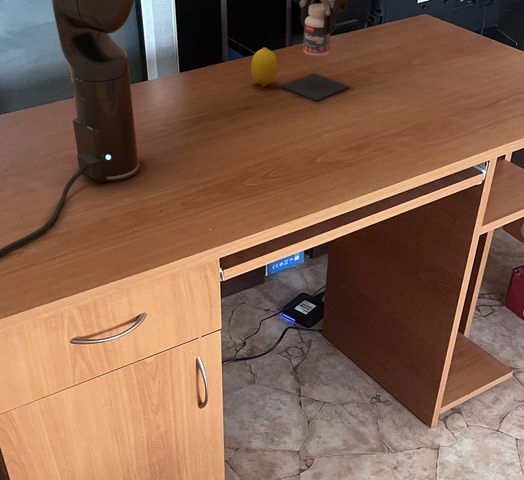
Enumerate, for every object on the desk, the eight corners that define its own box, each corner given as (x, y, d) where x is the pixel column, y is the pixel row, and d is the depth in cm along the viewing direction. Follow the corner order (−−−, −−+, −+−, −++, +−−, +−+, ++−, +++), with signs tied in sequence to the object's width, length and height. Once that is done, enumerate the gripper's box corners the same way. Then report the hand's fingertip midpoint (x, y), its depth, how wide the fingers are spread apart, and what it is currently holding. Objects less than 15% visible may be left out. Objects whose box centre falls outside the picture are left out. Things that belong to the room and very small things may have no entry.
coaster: (316, 101, 159) (316, 99, 159) (281, 87, 164) (281, 85, 164) (348, 88, 164) (348, 86, 164) (313, 75, 170) (313, 73, 170)
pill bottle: (299, 54, 158) (301, 8, 153) (307, 46, 162) (309, 1, 156) (325, 58, 157) (327, 12, 151) (332, 49, 161) (335, 4, 155)
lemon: (267, 93, 162) (267, 54, 157) (245, 87, 165) (245, 48, 159) (282, 85, 165) (283, 46, 160) (261, 79, 168) (262, 41, 163)
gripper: (280, -67, 148) (278, 25, 159) (338, -53, 140) (331, 44, 151) (307, -74, 152) (304, 17, 163) (365, -60, 144) (357, 34, 155)
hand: (317, 29), depth 157 cm, fingers closed on pill bottle, 5 cm apart
